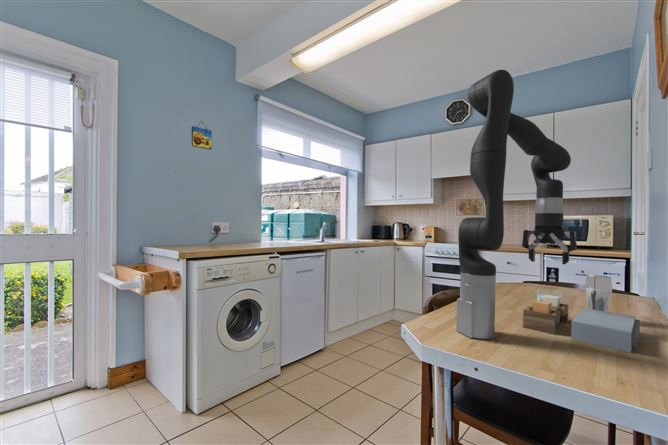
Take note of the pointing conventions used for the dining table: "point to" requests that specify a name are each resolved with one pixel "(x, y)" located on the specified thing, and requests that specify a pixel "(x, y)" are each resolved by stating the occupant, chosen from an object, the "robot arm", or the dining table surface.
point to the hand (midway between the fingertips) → (547, 262)
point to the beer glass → (598, 292)
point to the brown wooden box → (545, 318)
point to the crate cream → (552, 300)
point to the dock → (606, 329)
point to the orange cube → (542, 306)
